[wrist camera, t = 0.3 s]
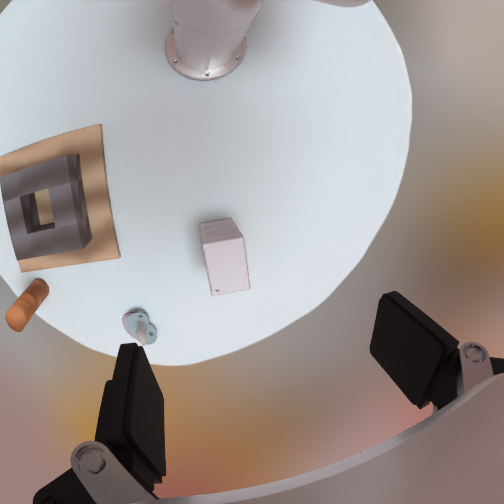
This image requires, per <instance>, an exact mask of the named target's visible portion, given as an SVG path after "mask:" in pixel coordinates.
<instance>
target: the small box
mask: <svg viewBox="0 0 504 504" xmlns="http://www.w3.org/2000/svg"><path fill="white" fill-rule="evenodd" d="M199 229H200V236H201V243H202V248H203V253H204V259H205V264H206V269H207V275H208V280H209V285H210V290H211V295H212V296H217V295H222V294H228V293H233V292H238V291H243V290H247V289H250V282H249V274H248V266H247V259H246V251H245V243H244V237H243V235H242V234H241V232H240V231H239V229H238V228H237V226H236V224H235V223H234V221H233V220H232V218H230V219H223V220H217V221H212V222H206V223H201V224H199Z"/></svg>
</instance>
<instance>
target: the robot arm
mask: <svg viewBox="0 0 504 504" xmlns="http://www.w3.org/2000/svg"><path fill="white" fill-rule="evenodd" d="M313 1H317V2H322V3H326V4H330V5H335V6H340V7H357V6H361V5H363V4H365V3H367V2H369V1H370V0H313ZM262 2H263V0H171V7H172V18H173V29H172V30H171V32H170V34H169V35H168V38H167V40H166V46H165V50H166V56H167V59H168V61H169V63H170V65H171V66H172V67H173V68H174V70H176V71H177V72H178V73H179V74H181V75H183V76H185V77H188V78H191V79H195V80H213V79H217V78H220V77H223V76H225V75H227V74H229V73H231V72H232V71H233V70H234V69H236V68H237V66H238V65H239V64H240V63H241V61H242V60H243V58H244V55H245V53H246V47H247V45H246V38H245V34H246V32H247V31H248V29H249V27H250V26H251V24H252V22H253V20H254V19H255V17H256V15H257V14H258V12H259V10H260V8H261V5H262ZM236 58H238V60H236ZM174 62H177V64H174ZM206 74H208V75H209V76H208V77H206V76H205V75H206ZM458 344H459V341H458V340H456V339H455V338H454V337H453V336H452V335H450V334H449V333H448V332H447V331H445V329H443V328H442V327H441V326H439V325H438V324H437V323H436V322H435V321H434V320H432V319H431V318H430V317H429V316H427V315H426V314H425V313H424V312H422V311H421V310H420V309H419V308H417V307H416V306H415V305H414V304H412V303H411V302H410V301H409V300H407V299H406V298H405V297H403V296H402V295H401V294H400V293H398V292H397V291H392V292H389V293H385V294H383V295H382V297H381V299H380V300H379V304H378V309H377V315H376V320H375V325H374V330H373V335H372V339H371V344H370V353H371V354H372V356H373V357H374V358H375V359H376V361H377V362H378V363H379V364H380V365H381V367H382V368H383V369H384V370H385V371H386V373H387V374H388V375H389V376H390V377H391V379H392V380H393V381H394V382H395V383H396V385H397V386H398V387H399V388H400V389H401V391H402V392H403V393H404V394H405V395H406V397H407V398H408V399H409V400H410V402H412V404H414V405H417V407H418V408H419V409H422V408H423V407H425V406H426V405H428V404H429V403H430V401H431V402H432V403H433V414H432V415H431V416H429V417H428V418H426V419H424V420H423V421H421V422H419V423H418V424H416V425H414V426H413V427H411V428H409V429H407V430H406V431H404V432H402V433H400V434H398V435H396V436H394V437H393V438H391V439H389V440H387V441H385V442H383V443H381V444H379V445H377V446H375V447H372V448H371V449H368V450H366V451H364V452H361V453H359V454H357V455H354V456H352V457H350V458H347V459H345V460H342V461H340V462H337V463H334V464H332V465H329V466H326V467H323V468H320V469H317V470H315V471H311V472H309V473H305V474H302V475H299V476H296V477H292V478H288V479H285V480H281V481H277V482H273V483H269V484H265V485H260V486H255V487H250V488H244V489H239V490H233V491H227V492H221V493H213V494H205V495H196V496H185V497H176V498H163V499H159V498H158V497H157V496H156V495H155V494H154V493H153V492H152V491H153V490H154V483H162V476H166V460H165V436H164V398H163V394H162V392H161V390H160V387H159V385H158V383H157V381H156V378H155V376H154V374H153V371H152V369H151V366H150V364H149V361H148V359H147V356H146V354H145V351H144V349H143V347H142V346H138V345H137V343H127V344H121V345H120V348H119V352H118V356H117V360H116V365H115V369H114V374H113V378H112V380H108V381H107V382H106V384H105V388H104V392H103V397H102V402H101V407H100V412H99V417H98V424H97V429H96V434H95V441H86V442H83V443H81V444H80V445H78V446H77V447H76V448H75V449H74V451H73V452H72V455H71V466H72V468H70V469H69V470H67V471H66V472H65V473H63V474H62V475H61V476H59V477H58V478H56V479H55V480H53V481H52V482H50V483H49V484H47V485H46V486H44V487H43V488H41V489H40V490H39V491H38V492H37V493H36V494H35V496H34V498H33V504H504V359H502V358H493V357H489V354H488V351H487V350H486V349H485V347H483V346H482V345H480V344H478V343H476V342H467V343H464V344H463V345H461V348H460V349H458V348H457V346H458Z"/></svg>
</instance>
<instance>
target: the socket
mask: <svg viewBox="0 0 504 504" xmlns="http://www.w3.org/2000/svg"><path fill="white" fill-rule="evenodd" d="M0 185H1V192H2V198H3V204H4V209H5V214H6V219H7V224H8V228H9V232H10V237H11V240H12V244H13V248H14V252H15V255H16V258H17V261H18V263H19V266H20V269H21V272H29V271H35V270H42V269H49V268H55V267H62V266H69V265H76V264H83V263H90V262H97V261H104V260H111V259H118V258H120V251H119V247H118V242H117V237H116V232H115V227H114V221H113V216H112V210H111V204H110V198H109V191H108V184H107V176H106V167H105V158H104V147H103V134H102V125H101V124H99V125H94V126H90V127H87V128H83V129H79V130H75V131H72V132H68V133H65V134H62V135H58V136H55V137H52V138H49V139H46V140H43V141H40V142H37V143H34V144H31V145H29V146H26V147H23V148H21V149H18V150H16V151H13V152H11V153H8V154H6V155H4V156H1V157H0Z"/></svg>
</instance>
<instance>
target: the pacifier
mask: <svg viewBox="0 0 504 504" xmlns="http://www.w3.org/2000/svg"><path fill="white" fill-rule="evenodd" d="M139 315H142V316H143V317H142V316H139ZM123 325H124V328H125V330H126V331H127V332H128V334H129V335H131V336H132V337H133V338H135V339H137V340H138V341H139V342H141V344H142V345H145V344H152V343H154V342H155V341H156V338H157V332H156V330H155V328H154V327H153V326H152V325H151V324H150V323H149V318H148V316H147V315H146V314H144V313H141V312H136V313H127V314H125V315H124V317H123ZM149 332H152V333H153V335H150V334H149Z"/></svg>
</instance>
